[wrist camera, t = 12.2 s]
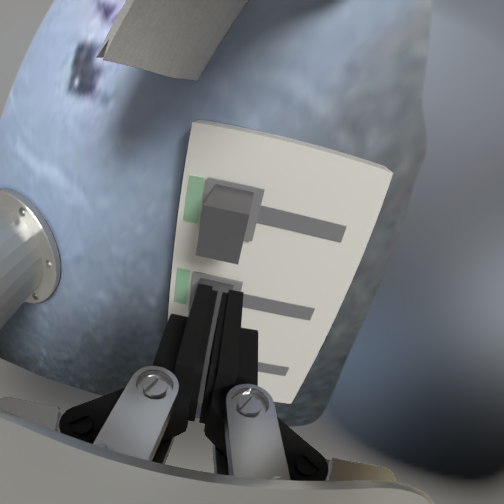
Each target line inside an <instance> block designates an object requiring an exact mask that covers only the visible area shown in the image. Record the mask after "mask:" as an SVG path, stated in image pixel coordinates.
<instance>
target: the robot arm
mask: <svg viewBox="0 0 504 504" xmlns="http://www.w3.org/2000/svg"><path fill="white" fill-rule="evenodd" d="M60 266H61V264H60V258H59V252H58V249H57V245H56V242H55V239H54V237H53V234H52V232H51V230H50V228H49V226H48V224H47V223H46V221H45V219H44V218H43V216H42V215H41V213H40V212H39V211H38V209H37V208H36V207H35V206H34V205H33V204H32V203H31V202H30V201H29V200H28V199H27V198H25V197H24V196H23V195H21V194H20V193H18V192H16V191H14V190H12V189H7V188H0V329H1V328H2V327H3V326H4V324H5V323H6V322H7V321H8V320H9V319H10V317H11V316H12V315H13V314H14V313H15V312H16V311H17V309H18V308H19V307H20V306H21V305H22V304H23V303H24V302H28V303H40V302H42V301H45V300H46V299H47V298H49V297H50V295H51V294H52V293H53V292H54V291H55V289H56V287H57V285H58V283H59V279H60ZM212 289H213V286H210V285H205V284H200V283H198V286H197V290H196V293H195V297H194V300H193V303H192V307H191V310H190V314H189V317H186V316H181V315H177V314H172V313H171V315H170V317H169V320H168V322H167V325H166V328H165V331H164V334H163V337H162V340H161V343H160V345H159V348H158V351H157V354H156V357H155V360H154V363H153V366H147V367H143V368H141V369H139V370H138V371H136V372H135V373H134V375H133V376H132V378H131V379H130V381H129V383H128V384H127V386H126V388H123V389H121V390H118V391H115V392H113V393H110V394H108V395H105V396H102V397H100V398H97V399H94V400H92V401H89V402H86V403H83V404H81V405H78V406H75V407H72V408H71V409H69V410H67V411H65V410H60V409H59V407H57V406H51V405H45V404H40V403H35V402H30V401H25V400H21V399H16V398H12V397H4V398H1V399H0V504H434V503H433V502H432V500H431V498H430V497H429V496H428V495H427V494H426V493H424V492H423V491H421V490H419V489H417V488H414V487H412V486H408V485H405V484H401V483H396V478H395V476H394V474H393V473H392V472H391V471H390V470H389V469H387V468H385V467H382V466H376V465H369V464H363V463H358V462H352V461H346V460H342V459H337V458H333V459H332V460H329V459H325V458H324V457H323V456H322V455H321V454H320V453H319V452H318V451H317V450H315V449H314V448H313V447H312V446H310V445H309V444H308V443H307V442H306V441H304V440H303V439H302V438H301V437H300V436H299V435H297V434H296V433H295V432H294V431H293V430H292V429H290V428H289V427H288V426H287V425H286V424H285V423H284V422H282V421H281V420H280V419H279V418H278V417H277V415H276V410H275V405H274V402H273V399H272V397H271V395H270V394H269V393H268V392H267V391H266V390H264V389H263V388H261V387H259V386H258V330H253V329H247V328H242V327H241V321H242V308H243V295H244V292H240V291H235V290H230V289H229V291H228V293H225V292H222V297H221V302H220V307H219V312H218V317H217V322H216V327H215V332H214V337H213V342H212V348H211V353H210V359H209V365H208V371H207V377H206V383H205V390H204V396H203V402H202V408H201V415H200V421H199V422H200V423H205V429H204V431H205V435H206V436H207V437H208V439H209V440H210V441H211V442H212V443H213V461H214V473H206V472H201V471H195V470H190V469H184V468H179V467H174V466H169V465H165V462H166V460H167V457H168V455H169V452H170V450H171V447H172V445H173V442H174V439H175V436H177V435H179V434H181V433H183V432H185V431H186V428H187V424H188V420H189V421H194V420H195V414H196V409H197V403H198V397H199V391H200V385H201V380H202V374H203V368H204V363H205V357H206V352H207V346H208V341H209V335H210V330H211V325H212V319H213V314H214V309H215V304H216V298H217V293H218V291H215V290H212Z"/></svg>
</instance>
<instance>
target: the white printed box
mask: <svg viewBox="0 0 504 504" xmlns="http://www.w3.org/2000/svg"><path fill="white" fill-rule="evenodd" d="M247 2H248V0H126V2H125V4H124V5H123V7H122V9H121V11H120V12H119V14H118V16H117V18H116V20H115V21H114V23H113V25H112V27H111V29H110V31H109V33H108V35H107V37H106V39H105V41H104V43H103V45H102V47H101V49H100V51H99V53H98V55H97V57H96V58H99V57H104V58H103V60H105V61H110V62H116V63H120V64H124V65H128V66H132V67H136V68H140V69H143V70H147V71H150V72H154V73H157V74H160V75H164V76H167V77H170V78H179V79H187V80H195V81H198V79H199V78H200V76H201V74H202V72H203V71H204V69H205V67H206V65H207V64H208V62H209V60H210V59H211V57H212V55H213V54H214V52H215V50H216V49H217V47H218V46H219V44H220V42H221V41H222V39H223V38H224V36H225V35H226V33H227V31H228V30H229V28H230V27H231V25H232V24H233V22H234V21H235V19H236V18H237V16H238V15H239V13H240V12H241V10H242V9H243V7H244V6H245V5H246V3H247Z"/></svg>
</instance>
